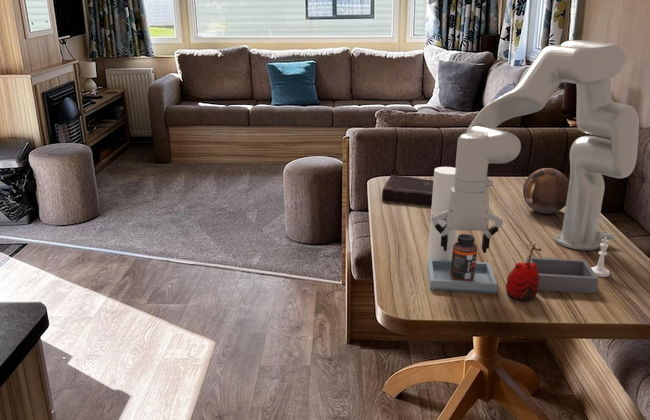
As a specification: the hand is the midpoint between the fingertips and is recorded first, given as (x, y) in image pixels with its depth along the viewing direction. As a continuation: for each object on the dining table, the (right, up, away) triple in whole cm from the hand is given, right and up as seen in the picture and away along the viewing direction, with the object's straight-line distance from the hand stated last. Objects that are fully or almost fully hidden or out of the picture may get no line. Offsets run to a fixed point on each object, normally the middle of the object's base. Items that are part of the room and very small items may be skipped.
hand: (464, 249), depth 158 cm
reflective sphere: (+38, +9, +53) cm, 66 cm away
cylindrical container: (-3, -3, +16) cm, 16 cm away
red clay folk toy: (+13, -11, -5) cm, 18 cm away
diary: (-1, +14, +66) cm, 68 cm away
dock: (+25, -8, +3) cm, 26 cm away
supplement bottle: (0, -8, +3) cm, 8 cm away
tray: (0, -8, +3) cm, 8 cm away
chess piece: (+37, -7, +8) cm, 39 cm away
